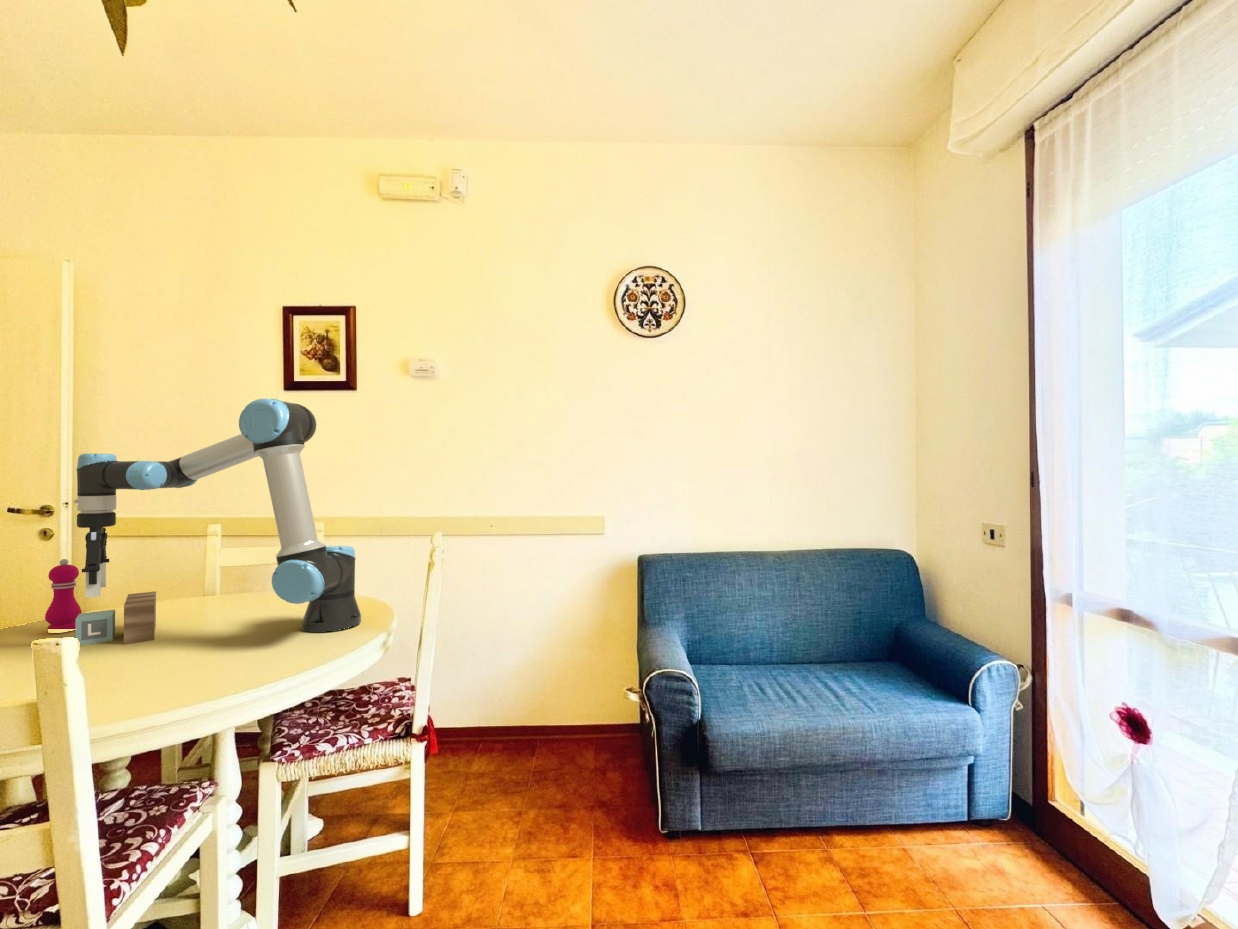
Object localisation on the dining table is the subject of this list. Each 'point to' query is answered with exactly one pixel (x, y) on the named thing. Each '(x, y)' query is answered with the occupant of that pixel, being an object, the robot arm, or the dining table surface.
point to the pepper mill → (63, 597)
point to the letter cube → (95, 627)
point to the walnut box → (139, 617)
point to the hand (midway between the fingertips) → (96, 592)
